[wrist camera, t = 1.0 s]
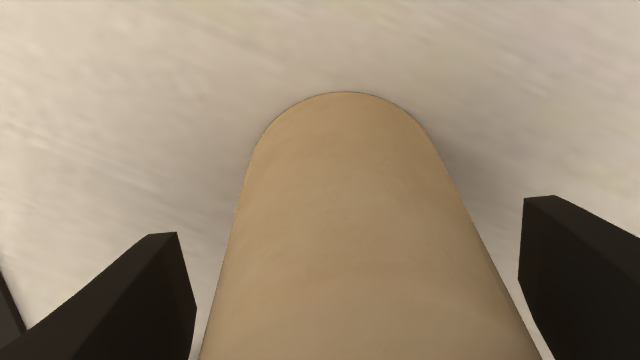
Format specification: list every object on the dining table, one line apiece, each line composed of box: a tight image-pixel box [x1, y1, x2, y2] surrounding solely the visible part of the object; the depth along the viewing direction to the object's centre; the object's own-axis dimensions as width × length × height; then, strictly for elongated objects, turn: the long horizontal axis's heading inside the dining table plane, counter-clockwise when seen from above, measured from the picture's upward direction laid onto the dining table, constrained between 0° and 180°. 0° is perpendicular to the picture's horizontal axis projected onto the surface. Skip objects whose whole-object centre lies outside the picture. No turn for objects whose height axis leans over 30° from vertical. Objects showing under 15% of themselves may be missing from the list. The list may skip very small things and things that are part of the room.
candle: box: [198, 92, 543, 360], centre depth 11 cm, size 6×6×10 cm
